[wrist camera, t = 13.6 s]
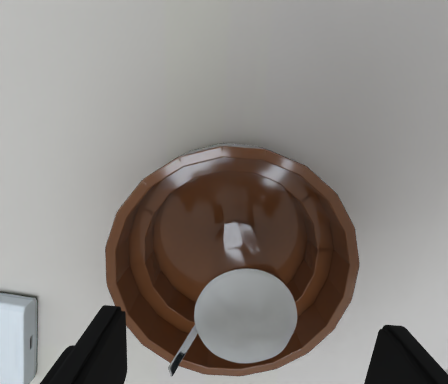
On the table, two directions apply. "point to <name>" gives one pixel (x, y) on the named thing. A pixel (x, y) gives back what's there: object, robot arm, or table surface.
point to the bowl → (203, 241)
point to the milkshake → (241, 301)
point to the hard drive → (17, 339)
